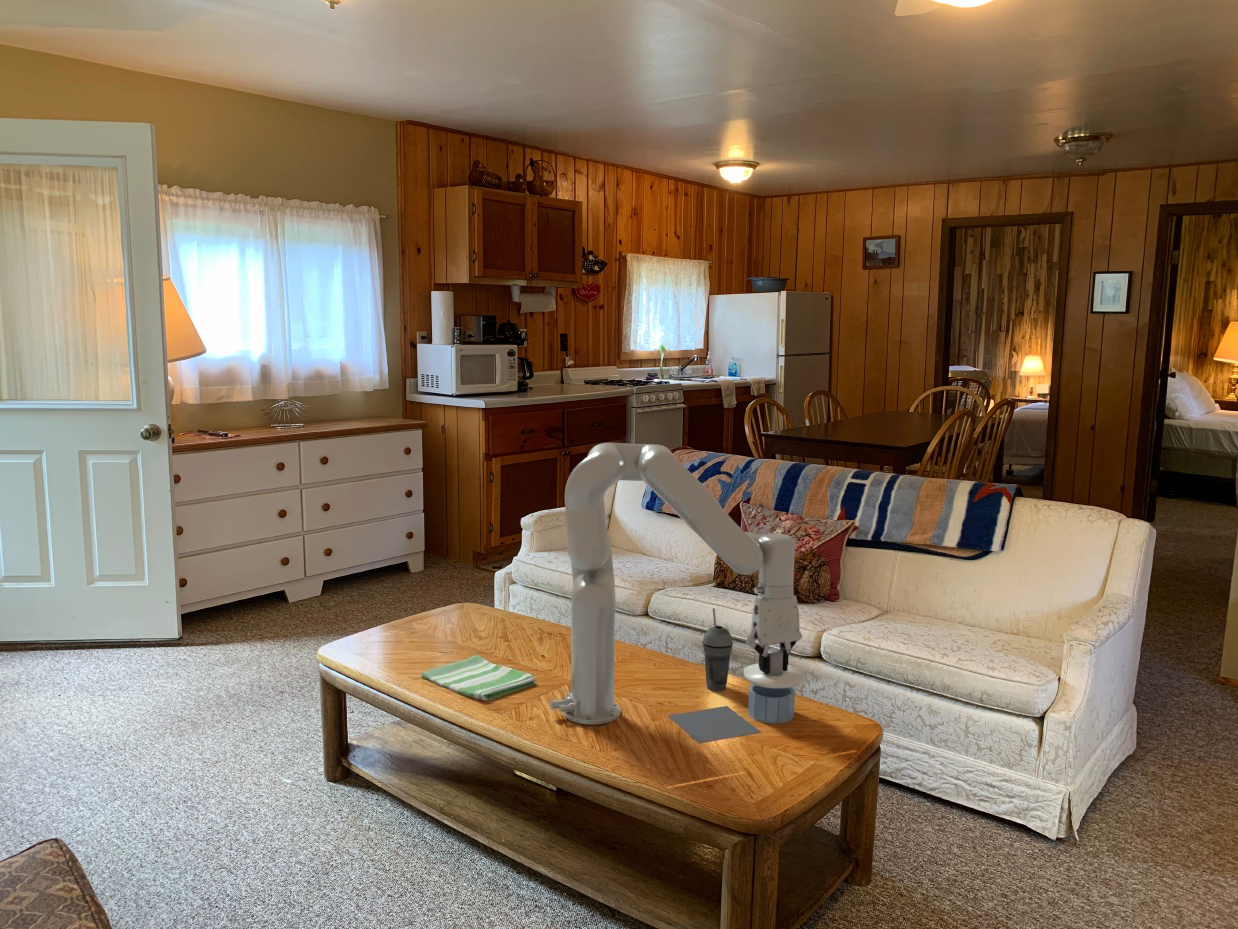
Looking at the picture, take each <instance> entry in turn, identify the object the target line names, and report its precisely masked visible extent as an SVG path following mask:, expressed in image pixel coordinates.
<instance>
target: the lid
mask: <svg viewBox="0 0 1238 929" xmlns="http://www.w3.org/2000/svg"><path fill="white" fill-rule="evenodd" d="M768 656H769V657H770V672H769V674H765V673H764V672H762V671H761V670H760V669H759V662H758V663H754V664H750V665H748V666H746V667H745V668H744V669H743V678H744V679H745V681H747V682H748V683H750V684H751V685H752V684H754V685H757V686H761V687H766V688H790V687H792V688H793V687H797V686H799V685H801V684H802V683H803V682H804V672H803V671H801V669H800V668H798V667H795V666H793V665H790V664H788V670H787V671H783V651H782V650H780V648H773V647H772V648H771V647H769V651H768Z"/></svg>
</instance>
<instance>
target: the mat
mask: <svg viewBox="0 0 1238 929" xmlns="http://www.w3.org/2000/svg"><path fill="white" fill-rule="evenodd" d="M667 717H668V718H670V720H672V721H673V722H674V723H675V724H676V725H677V726H678V727H679V728H681V729H682V730H683V731H684V732H685V733H687V735H689V737H691V738H692V739H693V740H694V741H695V742H697V743H698V744H702V743H703V744H704V743H709V742H714V741H715V742H716V741H721V740H726V739H732V738H736V737H737V738H738V737H742V736H743V737H744V736H748V735H753V734H754V735H755V734H760V733H762V731H761V730H759V729H758V728H757V727H755V726H754V725H753V724H751V723H750V721H747V720H746V719H745V718H744V717H742V716H741V715H739V714H738V713H737V712H736V711H734V710H733V709H732V708H731V707H729V706H727V705H725V706H718V707H717V706H716V707H711V708H705V709H699V710H693V711H688V712H681V713H675V714H668V715H667Z"/></svg>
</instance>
